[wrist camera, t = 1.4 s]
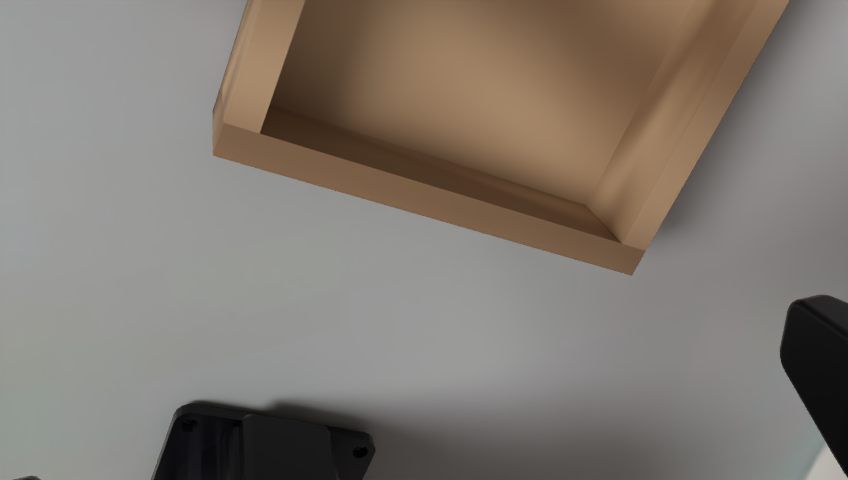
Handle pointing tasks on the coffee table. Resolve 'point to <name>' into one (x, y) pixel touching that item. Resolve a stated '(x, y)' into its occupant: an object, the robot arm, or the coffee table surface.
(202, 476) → the robot arm
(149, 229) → the coffee table surface
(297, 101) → the tray
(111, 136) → the coffee table surface
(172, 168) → the coffee table surface
